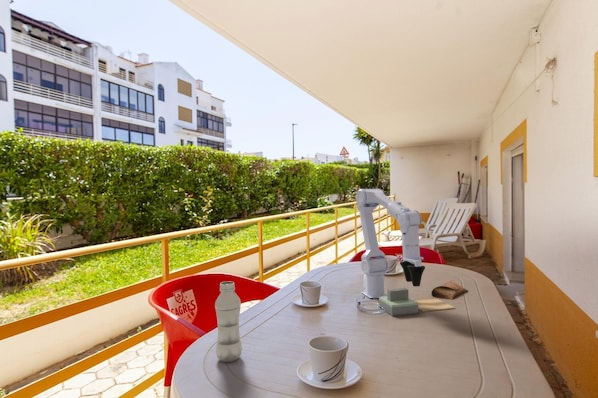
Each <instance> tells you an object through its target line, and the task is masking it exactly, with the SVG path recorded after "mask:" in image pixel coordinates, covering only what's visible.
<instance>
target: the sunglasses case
mask: <svg viewBox="0 0 598 398" xmlns="http://www.w3.org/2000/svg"><path fill="white" fill-rule="evenodd" d="M468 291H469V290H468V289H466V288H465V287H463V286H461V285H459V284H458V283H455V282H453V280H449V281H448V282H445V283H443V284H441V285H438V286H436V287H434V288H432V291H431V297H434V298H436V299H438V298H439V299H444V300H450V301H452V300H454V299H455V298H457V297H459V296H460V295H462V294H464V293H467V292H468Z"/></svg>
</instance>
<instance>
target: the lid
mask: <svg viewBox="0 0 598 398" xmlns="http://www.w3.org/2000/svg"><path fill="white" fill-rule="evenodd" d="M386 295H387V296H384V297H379V298H378V300H379V299H380V300H381V301H383V302H384V303H386V304H387V305H389V306H390V307H401V306H411V305H418V302H416V301H415V300H413V299H412V298H411V297H410V296H409V289H408V288H406V287H403V288H401V287H400V288H388V289H386Z"/></svg>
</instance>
